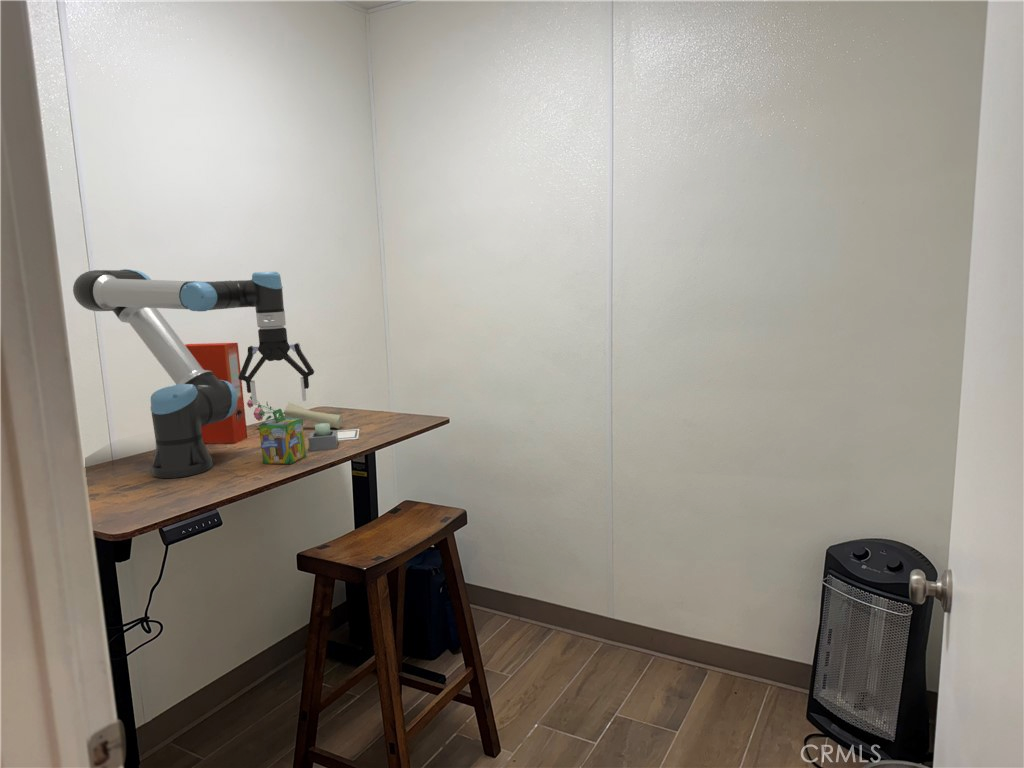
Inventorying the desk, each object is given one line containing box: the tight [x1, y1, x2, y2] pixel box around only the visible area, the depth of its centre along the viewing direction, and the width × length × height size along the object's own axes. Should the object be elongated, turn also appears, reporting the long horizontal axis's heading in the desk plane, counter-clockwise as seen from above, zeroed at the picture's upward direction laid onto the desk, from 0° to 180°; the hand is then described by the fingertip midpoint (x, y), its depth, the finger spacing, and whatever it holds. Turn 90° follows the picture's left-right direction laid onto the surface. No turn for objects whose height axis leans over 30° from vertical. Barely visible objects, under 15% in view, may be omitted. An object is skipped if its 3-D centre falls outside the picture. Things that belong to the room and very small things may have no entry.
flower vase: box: [246, 396, 344, 430], centre depth 234 cm, size 12×12×35 cm
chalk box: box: [258, 408, 307, 465], centre depth 192 cm, size 9×9×15 cm
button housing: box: [307, 429, 339, 452], centre depth 207 cm, size 8×8×4 cm
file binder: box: [184, 342, 248, 444], centre depth 218 cm, size 8×17×32 cm, turn 81°
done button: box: [314, 423, 331, 437], centre depth 206 cm, size 4×4×4 cm
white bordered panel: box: [337, 428, 360, 442], centre depth 220 cm, size 12×14×1 cm
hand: (279, 402), depth 191 cm, fingers open, 13 cm apart
